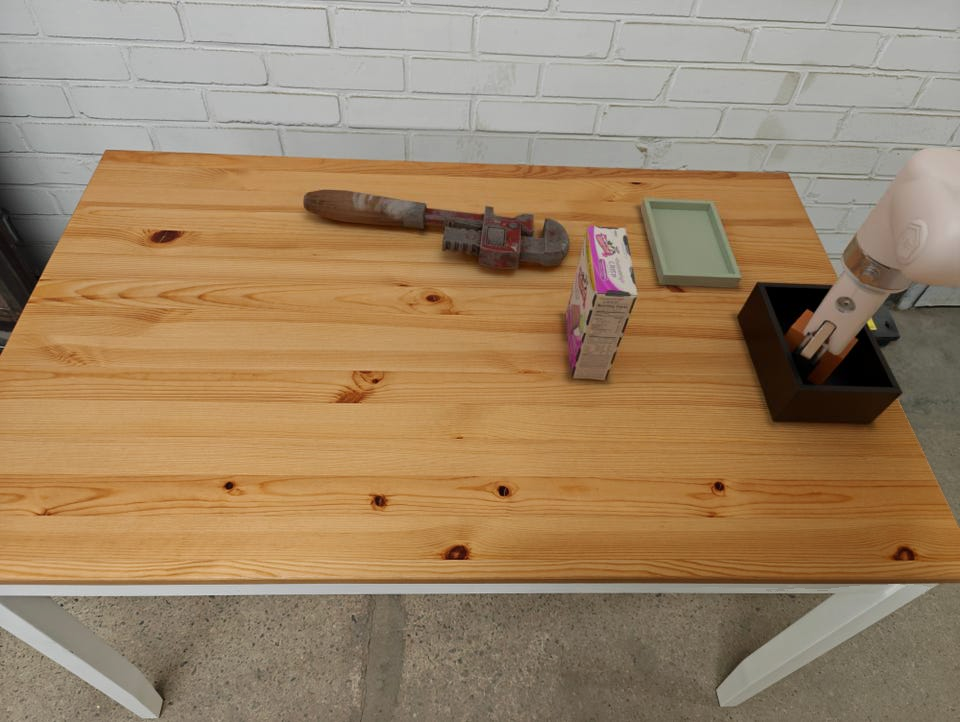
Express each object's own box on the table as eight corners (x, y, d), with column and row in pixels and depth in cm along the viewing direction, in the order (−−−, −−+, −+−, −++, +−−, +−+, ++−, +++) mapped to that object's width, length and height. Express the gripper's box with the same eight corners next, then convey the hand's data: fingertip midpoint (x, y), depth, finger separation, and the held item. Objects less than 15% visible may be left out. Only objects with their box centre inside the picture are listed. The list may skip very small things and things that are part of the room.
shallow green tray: (736, 287, 93) (742, 277, 91) (659, 284, 92) (663, 274, 90) (709, 211, 103) (713, 200, 102) (640, 207, 103) (643, 197, 101)
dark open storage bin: (870, 424, 79) (903, 392, 74) (772, 421, 78) (798, 389, 73) (822, 319, 90) (848, 285, 84) (736, 316, 89) (757, 281, 84)
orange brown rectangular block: (834, 368, 83) (858, 339, 78) (819, 387, 81) (843, 359, 76) (786, 338, 86) (807, 308, 81) (770, 356, 84) (791, 326, 79)
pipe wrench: (567, 228, 99) (572, 202, 95) (567, 284, 91) (573, 258, 87) (311, 201, 99) (306, 175, 95) (290, 255, 91) (284, 229, 87)
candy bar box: (562, 315, 87) (585, 223, 74) (598, 317, 87) (627, 225, 74) (568, 381, 80) (595, 292, 67) (607, 382, 81) (641, 294, 68)
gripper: (884, 318, 63) (800, 415, 77) (944, 241, 71) (859, 342, 85) (815, 279, 66) (747, 379, 80) (881, 209, 74) (808, 311, 88)
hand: (805, 359), depth 83 cm, fingers open, 5 cm apart
